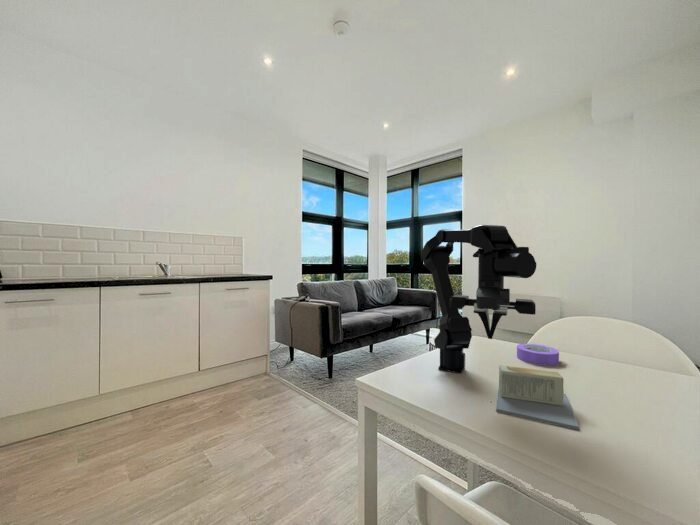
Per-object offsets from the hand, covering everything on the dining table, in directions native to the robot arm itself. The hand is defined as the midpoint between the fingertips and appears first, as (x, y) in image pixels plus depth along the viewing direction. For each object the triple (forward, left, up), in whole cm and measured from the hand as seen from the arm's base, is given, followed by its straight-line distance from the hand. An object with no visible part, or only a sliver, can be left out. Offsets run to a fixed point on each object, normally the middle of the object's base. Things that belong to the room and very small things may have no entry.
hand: (490, 338), depth 73 cm
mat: (+9, -3, -13) cm, 16 cm away
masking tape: (+12, +34, -13) cm, 38 cm away
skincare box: (+2, -3, -9) cm, 10 cm away
